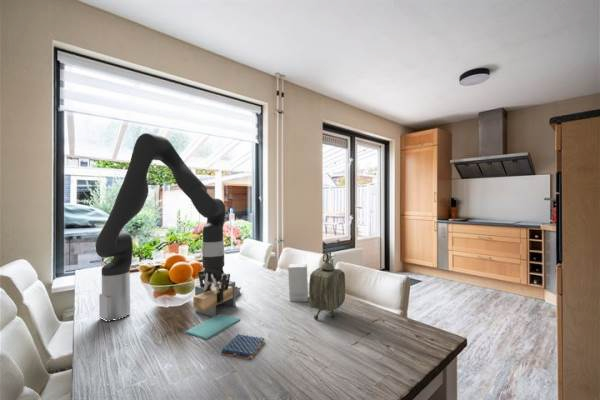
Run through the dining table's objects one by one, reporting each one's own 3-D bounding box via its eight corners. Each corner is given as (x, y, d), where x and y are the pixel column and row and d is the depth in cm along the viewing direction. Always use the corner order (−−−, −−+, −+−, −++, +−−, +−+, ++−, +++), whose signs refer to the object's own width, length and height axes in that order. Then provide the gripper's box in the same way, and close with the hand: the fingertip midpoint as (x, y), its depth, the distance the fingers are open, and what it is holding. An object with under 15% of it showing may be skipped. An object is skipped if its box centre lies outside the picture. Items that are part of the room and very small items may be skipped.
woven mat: (266, 342, 86) (266, 336, 86) (251, 362, 76) (251, 354, 76) (237, 338, 89) (237, 332, 89) (219, 356, 79) (219, 349, 79)
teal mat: (206, 339, 87) (206, 337, 87) (186, 332, 92) (186, 330, 92) (240, 320, 101) (240, 318, 101) (220, 315, 106) (220, 313, 106)
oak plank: (232, 297, 102) (232, 286, 102) (204, 311, 89) (203, 298, 89) (222, 295, 104) (222, 285, 104) (193, 308, 91) (193, 296, 92)
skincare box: (308, 297, 125) (307, 263, 125) (307, 302, 118) (306, 266, 119) (290, 296, 126) (290, 263, 126) (288, 301, 119) (288, 266, 119)
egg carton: (233, 300, 122) (233, 291, 122) (218, 300, 123) (218, 291, 123) (242, 292, 133) (242, 284, 133) (227, 292, 134) (227, 283, 134)
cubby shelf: (213, 316, 105) (213, 290, 105) (195, 311, 110) (195, 286, 110) (235, 305, 116) (235, 281, 116) (218, 301, 121) (217, 278, 121)
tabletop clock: (326, 307, 113) (325, 247, 113) (346, 311, 108) (345, 249, 108) (309, 320, 100) (308, 253, 100) (331, 326, 96) (330, 255, 96)
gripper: (191, 254, 97) (192, 301, 97) (220, 257, 90) (221, 308, 90) (207, 250, 103) (208, 294, 103) (235, 253, 96) (236, 300, 96)
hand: (214, 300), depth 97 cm, fingers closed on oak plank, 5 cm apart
